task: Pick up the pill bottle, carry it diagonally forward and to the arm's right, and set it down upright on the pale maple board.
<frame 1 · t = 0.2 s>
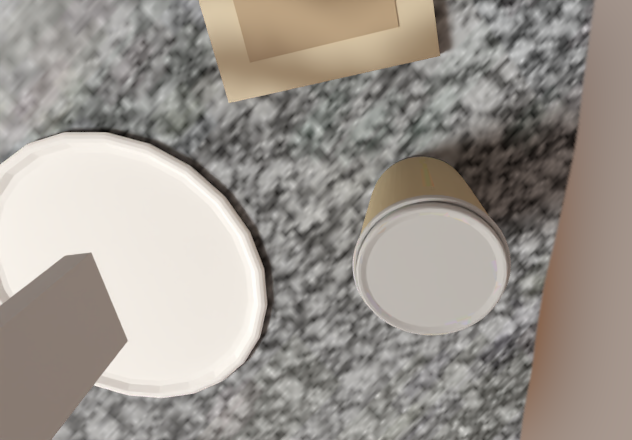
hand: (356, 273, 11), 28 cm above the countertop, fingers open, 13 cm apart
plate: (125, 274, 47), on the countertop
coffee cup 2: (418, 200, 39), on the countertop
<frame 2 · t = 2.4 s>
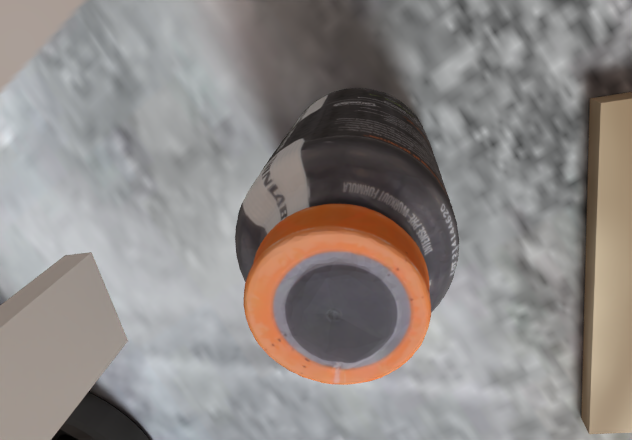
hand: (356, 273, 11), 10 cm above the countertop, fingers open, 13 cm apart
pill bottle: (357, 157, 20), on the countertop
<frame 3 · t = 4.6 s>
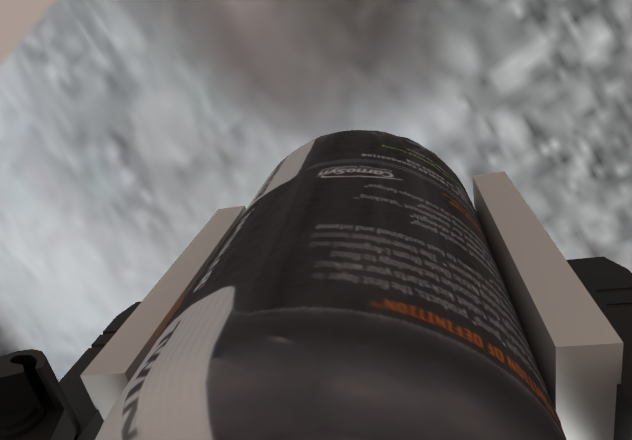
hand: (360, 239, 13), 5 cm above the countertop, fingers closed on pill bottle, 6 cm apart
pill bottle: (362, 230, 13), point 4 cm above the countertop, touching gripper
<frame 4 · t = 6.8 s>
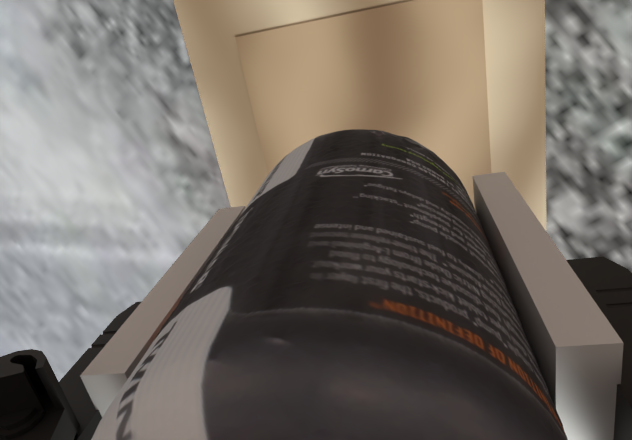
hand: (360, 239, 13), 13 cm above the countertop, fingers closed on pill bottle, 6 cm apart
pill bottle: (362, 230, 13), point 12 cm above the countertop, touching gripper
maple board: (370, 129, 24), on the countertop
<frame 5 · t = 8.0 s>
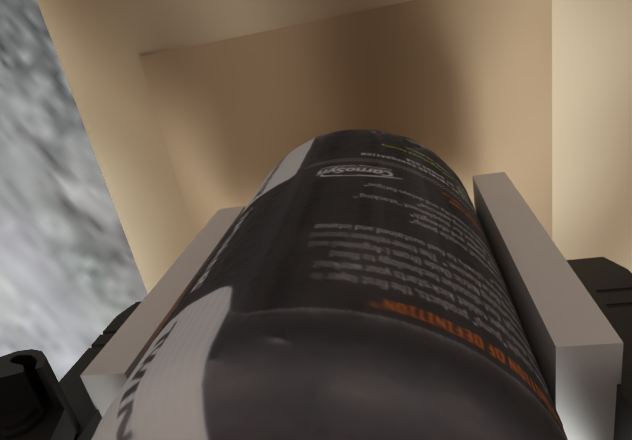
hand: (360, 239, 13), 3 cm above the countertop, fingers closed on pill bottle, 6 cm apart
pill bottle: (362, 230, 13), point 3 cm above the countertop, touching gripper
maple board: (361, 196, 16), on the countertop
when the fingers open (2 cm above the countertop, at t = 9.0 s): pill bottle stays where it is, resting on maple board.
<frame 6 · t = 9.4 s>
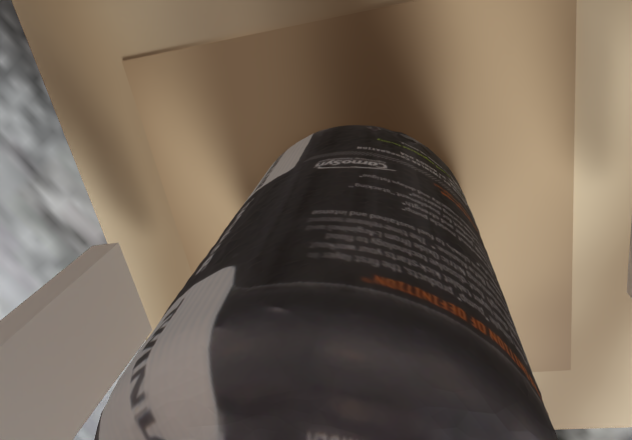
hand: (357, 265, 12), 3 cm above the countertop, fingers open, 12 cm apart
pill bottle: (359, 223, 14), point 1 cm above the countertop, touching maple board
maple board: (364, 211, 14), on the countertop
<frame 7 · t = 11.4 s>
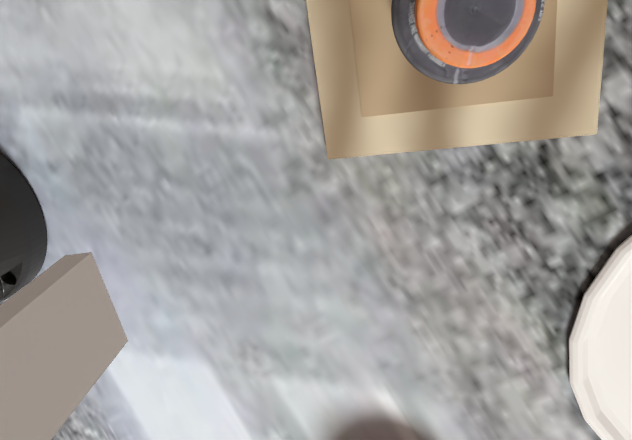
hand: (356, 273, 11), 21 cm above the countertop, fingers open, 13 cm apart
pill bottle: (448, 7, 27), point 1 cm above the countertop, touching maple board
maple board: (448, 7, 28), on the countertop
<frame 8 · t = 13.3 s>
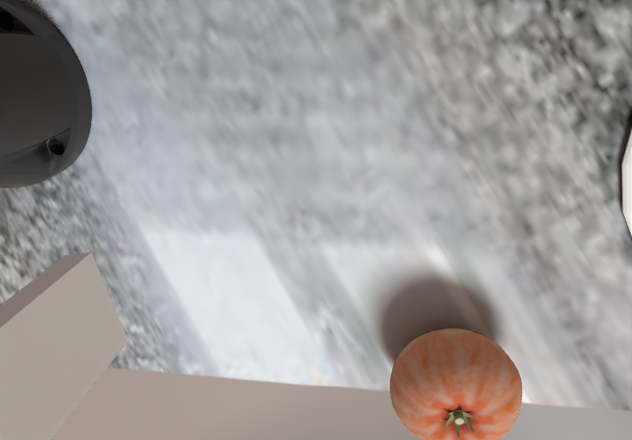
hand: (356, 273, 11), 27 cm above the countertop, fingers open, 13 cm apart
orange ribbed round piece: (448, 356, 44), on the countertop
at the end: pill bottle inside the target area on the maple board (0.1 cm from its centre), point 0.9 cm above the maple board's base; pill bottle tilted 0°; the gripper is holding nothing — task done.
